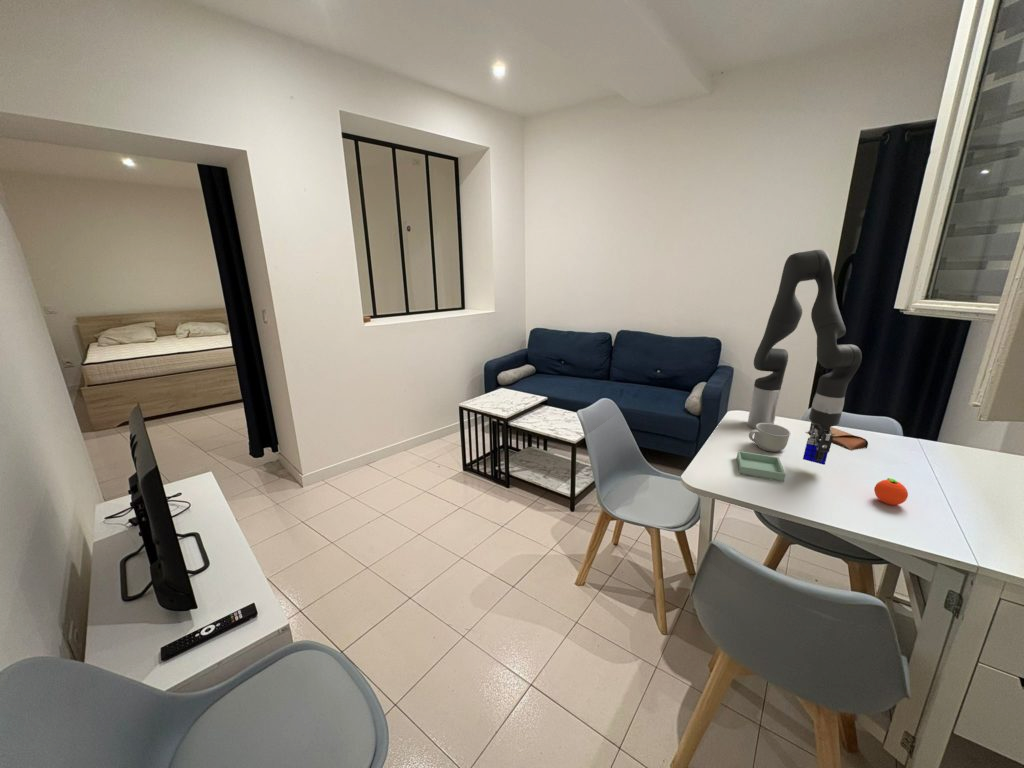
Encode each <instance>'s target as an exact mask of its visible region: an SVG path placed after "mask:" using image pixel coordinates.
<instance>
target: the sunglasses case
mask: <svg viewBox="0 0 1024 768" xmlns="http://www.w3.org/2000/svg"><path fill="white" fill-rule="evenodd" d="M830 430H831V435H833V440H832V443H831V444H835V445H837V446H840V447H843V448H844V449H847V450H849V451H855V450H860V449H867V448H868V446H869V442H868V440H867V439H865V438H864V437H862V436H859V435H854V434H851V433H848V432H846V431H845V430H844V431H843V430H841V429H838V428H836V427H834V426H832V427H830ZM805 434H808V435H809V430H808V431H807V432H805Z"/></svg>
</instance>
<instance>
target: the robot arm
mask: <svg viewBox="0 0 1024 768" xmlns="http://www.w3.org/2000/svg"><path fill="white" fill-rule="evenodd" d="M829 256H830V255H829V254H828V252H827V251H825V250H823V249H814V250H808V251H807V250H806V251H802V252H801V251H800V252H796V253H792V254H789V256H788V257H787V259H786V261H785V263H784V266H783V269H782V273H781V278H780V283H779V287H778V291H777V294H776V298H775V300H774V304H773V307H772V308H771V311H770V315H769V317H768V320H767V323H766V327H765V330H764V333H763V337H762V339H761V341H760V343H759V344H758V348H757V349H756V351H755V355H754V358H753V367H754V369H755V370H757V371H761V372H771V373H770V374H768V375H765V376H762V377H758V378H756V379H755V380H754V382H753V383H754V385H753V391H752V396H751V400H750V401H751V403H750V408H749V413H748V416H747V417H748V419H747V427H749V428H751V429H752V430H756V425H757V424H759V423H771V424H775V420H776V415H777V410H778V405H779V400H780V395H781V392H782V391H781V389H782V385H783V382H784V376H785V373H786V369H787V366H788V361H789V352H788V350H787V349H783V348H773V347H774V346H775V345H776V344H778V343H779V342H781V341H782V340H784V339H786V338H787V337H789V336H790V335H791V334H793V333H794V332H795V330H796V329H797V328H798V325H799V323H800V320H801V318H802V315H803V308H802V304H801V303H800V301H799V299H798V298H797V295H796V289H797V287H798V284H799V283H801V282H807V281H815V282H816V285H817V294H816V298H815V300H814V303H813V305H812V308H811V313H810V317H811V322H812V325H813V328H814V331H815V334H816V358H817V359H816V360H817V361H818V363H819V365H821V367H823V368H825V369H832V370H831V371H830V372H828V373H825V374H823V375H821V376H820V377H819V379H818V383H817V386H816V392H815V394H814V396H813V399H812V404H811V408H810V412H809V420H810V426H809V430H808V431H809V434H808V436H809V438H813V439H815V442H816V443H817V446H816V452H815V456H814V460H815V461H819V462H822V461H823V459H824V455H825V452H828V453H829V452H830V451H831V450H830V449H831V447H832V446H831V445H832V444H833V443H832V440H833V435H831V430H830V427H836V426H838V425H839V424H840V421H841V417H842V414H843V409H844V405H845V398H846V392H847V389H848V385H849V383H850V382H851V380H852V378H853V377H854V375H855V374H856V372H857V371H858V369H859V368H860V366H861V363H862V359H863V355H862V351H861V349H860V348H859V346H857V345H855V344H851V343H850V344H845V343H844V344H838V343H837V340H838V339H840V338H842V337H844V336H845V335H846V333H847V329H846V325H845V323H844V321H843V318H842V315H841V311H840V309H839V304H838V300H837V296H836V294H837V293H836V288H835V280H834V274H833V266H832V262H831V259H830V257H829ZM823 445H824V447H822V446H823Z"/></svg>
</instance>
